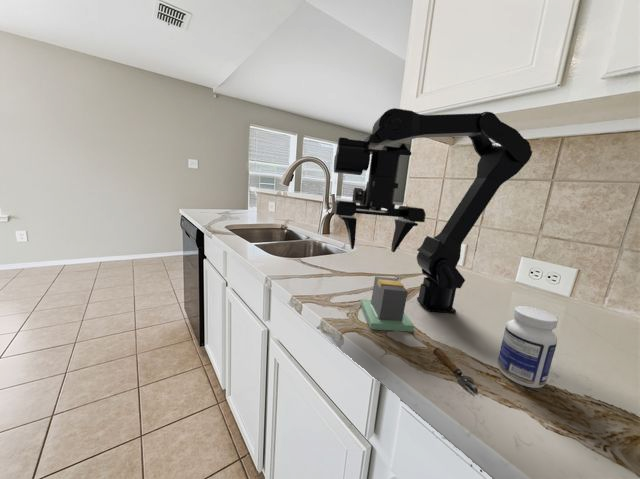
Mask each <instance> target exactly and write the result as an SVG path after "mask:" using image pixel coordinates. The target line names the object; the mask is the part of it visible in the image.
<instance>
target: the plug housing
mask: <svg viewBox="0 0 640 479" xmlns="http://www.w3.org/2000/svg"><path fill="white" fill-rule="evenodd" d="M373 282H374V283H373V288H372V293H371V294H372V296H371V304H372V306H373V308H374V310H375V312H376V314H377V316H378V318H379V319H384V320H395V321H402V319H403V314H404V313H405V308H406V304H407V298H408V294H409V293H408V292H409V291H408V290H407V289H406V287H405V285H404V284H403V283H402V282H401V281H400V280H398V279H397V278H395V277H386V276H374V281H373Z"/></svg>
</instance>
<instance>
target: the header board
mask: <svg viewBox="0 0 640 479" xmlns="http://www.w3.org/2000/svg"><path fill="white" fill-rule="evenodd" d="M360 308H361V309H362V312H363V313H364V314H363V315H364V316H365V319H366V321H367V323H368V326H369V329H370V330H379V331H380V330H381V331H391V332H392V331H394V332H410V333H411V332H412V333H414V331H415V325H414V323H413V322H412V320H411V319H410V318H409V317H408V316H407V314H406V312H404V314H403V319H402V321H395V320H384V319H379V318H378V316H377V314H376V312H375V310H374V308H373V306H372V304H371V300H370V299H360Z"/></svg>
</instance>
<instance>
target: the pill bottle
mask: <svg viewBox="0 0 640 479" xmlns="http://www.w3.org/2000/svg"><path fill="white" fill-rule="evenodd" d="M512 315H513V317H514V318H512V319H510V320H509V321H507V323H506V324H505V329H504V333H503V337H502V341H501V344H500V349H499V350H500V351H499V354H498V358H497V361H496V362H497V363H496V365H497V368H498V370H499V371H500V373H502V375H503V376H504V377H506V378H508V379H509V380H510V381H512V382H514V383H516V384H518V385H521V386H524V387H527V388H532V389H540V388H543V387H544V386H545V385H546V383H547V381H548V376H549V373H550V370H551V366H552V363H553V358H554V355H555V353H556V348H557V343H558V337H557V335H556V334H555V332H554V329H555V330H556V329H557V326H558V322H559V319H558V317H557V316H555V315H554V314H552V313H550V312H548V311H545V310H542V309H539V308H535V307H531V306H526V305H519V306H515V307H514V309H513V314H512Z"/></svg>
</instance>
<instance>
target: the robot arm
mask: <svg viewBox="0 0 640 479" xmlns="http://www.w3.org/2000/svg"><path fill="white" fill-rule="evenodd" d="M446 137H448V138H449V137H468V138H469V139H470V140H471V143H472V146H473V149H474V151H475V153H476V154H477V155H478V156H479V160H478V163H477V166H476V167H477V169H476V177H475V179H474V180H473V181H472V183H471V185H470V186H469V188H468V189H467V191H466V192H465V194H464V196H463V197H462V198H461V200H460V202H459V204H458V205H457V206H456V208H455V209H454V211H453V212H452V214H451V216H450V218H449V219H448V220H447V222H446V224H445V225H444V227H443V228H442V229H441V231H440V232H439V233H438V234H437V235H435V236H434V237H432V236H428V235H426V237H425V238H424V239H423V242H422V244H421V245H420V247H418V248H417V250H416V251H417V255H416V262H417V265H418V267H420V268H421V273H422V274H423V275H424V276H425V277H423V282H422V283H421V284H420V288H419V293H418V296H417V298H416V300H417V301H418V302H419V303H420V304H421V305H422V306H423V307H424V308H425V309H426V310H427V311H428V312H437V313H453V314H456V313H457V309H455V308H454V307H453V306H454V301H455V297H456V291H457V289H461V288H462V287H463V285H464V283H465V281H466V279H465V278H464V276H463V275H462V274H461V272H459V270H458V269H457V266H458V263H459V261H460V259H461V250H462V244H463V242H464V240H466V238H467V236H468V234H469V233H470V231H471V230H472V229H473V227H474V226H475V224H476V223H477V222H478V221H479V219H480V217H481V215H482V214H483V213H484V211H485V209H486V208H487V206H488V205H489V203H490V202H491V200H492V199H493V197H494V195H496V193H497V191H498V190H499V189H500V187H501V186H502V185H504V183H506V182H507V181H510V179H512V178H513V177H515V176H516V175H517V174H519V172H520V171H521V170H522V169H523V168H524V167H525V165H526V164H527V163H529V161H530V159H531V157H532V156H533V155H532V154H533V150H532V146H531V143H530V142H529V141H528V140H527V139H526V138H524V137H523V135H521V133H520V132H519V131H518V130H517V129H516V128H514V127H512V126H510V125H508V124H507V123H505V122H503V121H502V120H500V119H499V118H498V116H497V115H496V114H495V113H494V112H491V111H483V112H478V113H477V112H476V113H475V112H474V113H451V114H450V113H449V114H421V113H418V112H415V111H413V110H409V109H403V108H395V107H394V108H390V109H389V108H388V109H387V110H386V111H385V112H383V113H382V115H380V117H379V118H378V119H377V120H376V121H375V122H374V124H373V125H372V131H371V134H368V136H367V137H366V138H365V139H364V140H360V139H358V140H357V139H350V138H347V137H341V136H340V137H339V138H338V139H337V147H336V151H335V155H334V158H333V159H334V160H333V173H335V174H345V175H354V176H355V175H356V176H362V174H363V172H364V171H365V172H367V171H368V169H369V173H368V181H367V182H366V186H365V188H364V189H363V187H359V188H358V187H354V189H353V190H352V201H351V200H342V199H341V200H339V199H336V200H335V201H334V202H333V205H332V206H333V207H332V213H333V214H335V216H338V218H339V219H340V220H343V223H344V225H345V227H346V231H347V235H348V236H347V237H348V241H349V245H350V249H351V250H354V249H355V243H356V232H357V231H356V230H357V217H355V214H358V215H359V214H360V215H373V216H383V217H384V216H385V217H394V218H395V217H396V218H395V219H394V225H395V227H394V228H395V229H394V232H393V236H392V241H391V249H390V251H391V252H392V253H395V252H396V251H397V249H398V248H399V246H400V245H401V243H402V241H403V240H404V239H405V237H406V236H407V235H408V234H409V232H410V231H411V230H412V229H413V227H418V225H419V223H425V222H426V216H427V215H426V211H425V209H424V208H420V207H416V206H415V207H414V206H406V205H399V206H398V208H396V203H394V201H395V193H396V189H399V183H397V180H398V173H399V166H400V162H401V161H400V160H401V158H407V157H410V156H412V152H411V151H410V150H409V148H408V147H407V146H406V144H405V143H404V142H406V141H407V142H408V141H409V140H414V139H422V138H446ZM492 141H493V142H492ZM400 143H401V144H400ZM394 144H399V145H398V146H391V145H394ZM379 145H381V146H383V147H382V149H374V148H376V147H377V146H379ZM383 209H385V210H383ZM397 218H398V219H397Z"/></svg>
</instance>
